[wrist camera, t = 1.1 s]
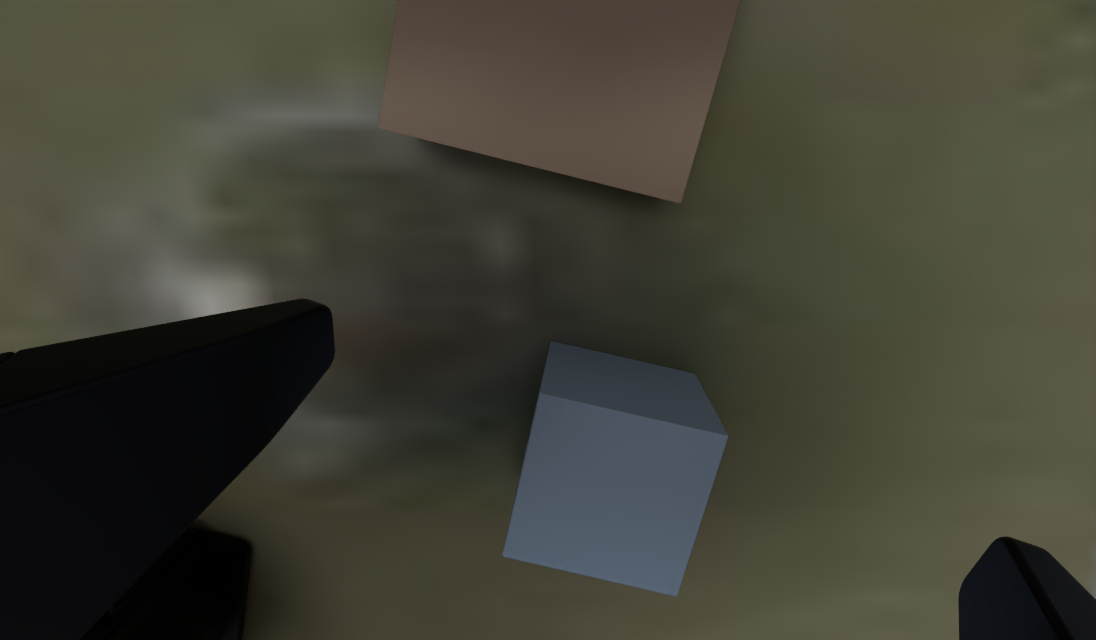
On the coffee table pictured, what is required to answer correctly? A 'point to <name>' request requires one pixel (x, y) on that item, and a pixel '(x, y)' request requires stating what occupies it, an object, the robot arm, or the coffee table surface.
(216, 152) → the coffee table surface
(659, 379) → the cube
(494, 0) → the base block
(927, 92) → the coffee table surface
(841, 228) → the coffee table surface
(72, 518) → the robot arm
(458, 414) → the coffee table surface
